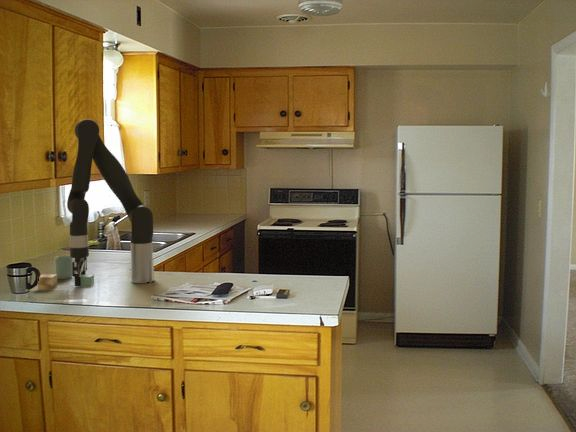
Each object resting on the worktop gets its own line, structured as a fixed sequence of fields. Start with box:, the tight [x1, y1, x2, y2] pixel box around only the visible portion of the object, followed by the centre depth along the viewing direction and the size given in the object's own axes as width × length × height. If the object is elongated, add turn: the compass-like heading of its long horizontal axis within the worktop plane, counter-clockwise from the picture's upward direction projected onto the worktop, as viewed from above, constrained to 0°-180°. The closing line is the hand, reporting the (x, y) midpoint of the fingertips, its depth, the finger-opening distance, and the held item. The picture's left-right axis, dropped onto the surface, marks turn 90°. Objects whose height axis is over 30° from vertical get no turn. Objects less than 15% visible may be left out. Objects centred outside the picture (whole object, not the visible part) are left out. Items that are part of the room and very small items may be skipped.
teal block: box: [79, 274, 95, 287], centre depth 282 cm, size 5×5×5 cm
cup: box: [54, 255, 74, 280], centre depth 297 cm, size 8×8×10 cm
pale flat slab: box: [29, 284, 76, 292], centre depth 276 cm, size 16×10×1 cm, turn 93°
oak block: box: [37, 273, 58, 290], centre depth 276 cm, size 6×6×5 cm
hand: (80, 283), depth 282 cm, fingers open, 8 cm apart
